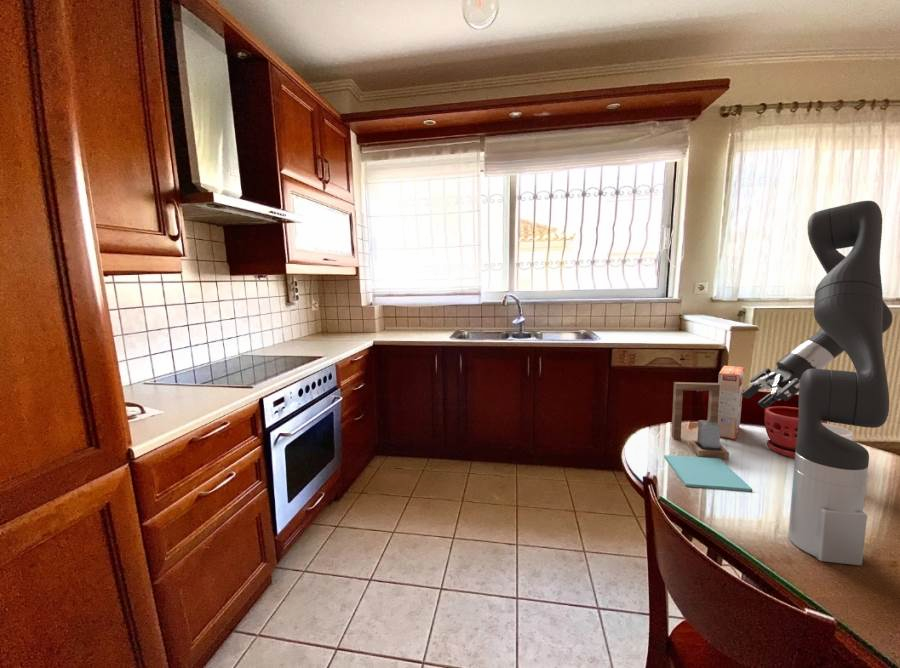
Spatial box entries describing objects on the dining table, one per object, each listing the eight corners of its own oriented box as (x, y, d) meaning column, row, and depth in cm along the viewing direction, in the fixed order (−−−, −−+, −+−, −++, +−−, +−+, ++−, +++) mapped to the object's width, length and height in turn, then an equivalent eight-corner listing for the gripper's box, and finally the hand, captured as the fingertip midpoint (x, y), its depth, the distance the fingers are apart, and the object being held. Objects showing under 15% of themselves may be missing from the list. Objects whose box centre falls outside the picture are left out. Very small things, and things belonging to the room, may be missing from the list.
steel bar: (718, 456, 107) (720, 425, 106) (702, 455, 108) (704, 425, 107) (712, 450, 111) (713, 420, 110) (697, 449, 112) (698, 420, 111)
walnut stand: (737, 459, 104) (742, 396, 102) (689, 456, 107) (692, 395, 105) (713, 438, 119) (716, 383, 116) (671, 436, 121) (673, 382, 119)
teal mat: (751, 491, 89) (752, 488, 89) (685, 486, 92) (685, 483, 92) (719, 460, 104) (719, 458, 104) (664, 457, 107) (664, 455, 107)
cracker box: (737, 440, 117) (741, 374, 114) (713, 436, 121) (717, 372, 118) (741, 427, 127) (745, 366, 124) (719, 423, 131) (722, 364, 128)
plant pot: (829, 453, 106) (833, 412, 105) (816, 467, 99) (820, 423, 98) (770, 439, 117) (773, 401, 116) (755, 450, 110) (757, 410, 108)
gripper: (776, 347, 108) (729, 385, 112) (812, 356, 94) (756, 399, 98) (797, 365, 108) (748, 403, 112) (835, 377, 94) (778, 419, 98)
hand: (752, 401), depth 105 cm, fingers open, 8 cm apart
